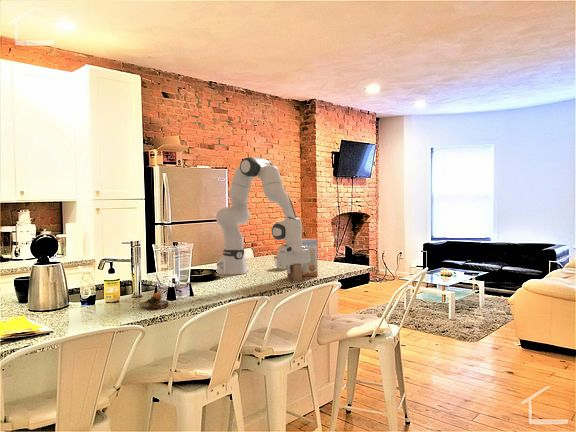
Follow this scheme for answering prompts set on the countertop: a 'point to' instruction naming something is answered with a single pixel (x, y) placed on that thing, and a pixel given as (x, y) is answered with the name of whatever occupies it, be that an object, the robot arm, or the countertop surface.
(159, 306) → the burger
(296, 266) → the walnut block
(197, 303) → the countertop surface
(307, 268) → the cracker box
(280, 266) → the lidded jar
